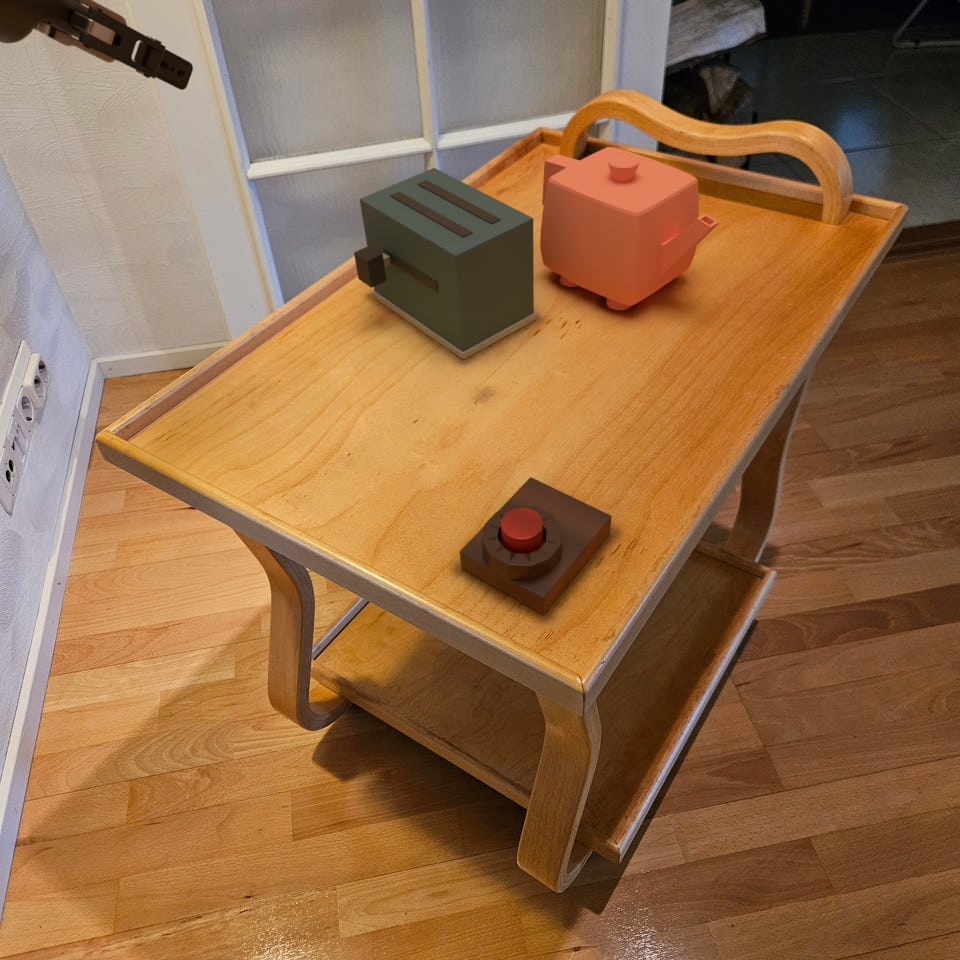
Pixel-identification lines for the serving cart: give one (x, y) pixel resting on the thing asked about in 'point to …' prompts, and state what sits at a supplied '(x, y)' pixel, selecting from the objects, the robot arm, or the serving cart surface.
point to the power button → (522, 530)
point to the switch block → (554, 562)
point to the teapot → (619, 223)
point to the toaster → (452, 260)
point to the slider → (371, 266)
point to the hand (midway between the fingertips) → (155, 60)
